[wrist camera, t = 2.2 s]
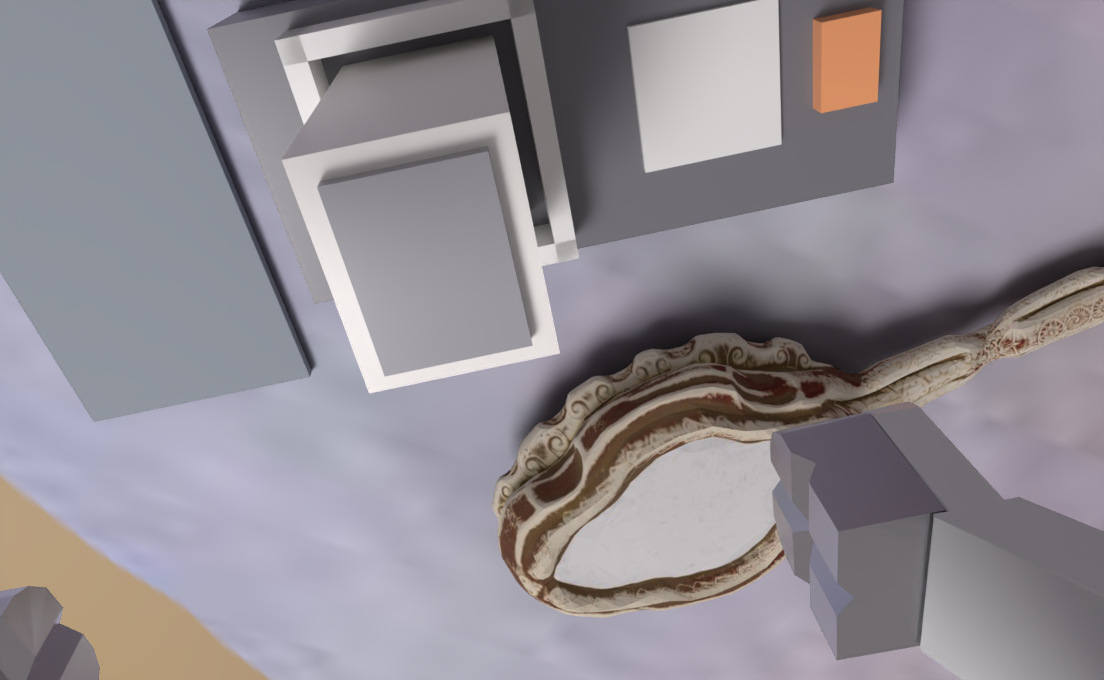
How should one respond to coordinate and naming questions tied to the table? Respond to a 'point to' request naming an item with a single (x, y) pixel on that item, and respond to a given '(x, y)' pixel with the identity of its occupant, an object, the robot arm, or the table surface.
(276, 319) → the slate mat
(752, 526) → the hand mirror
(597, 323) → the table surface
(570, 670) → the table surface
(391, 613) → the table surface
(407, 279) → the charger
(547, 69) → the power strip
